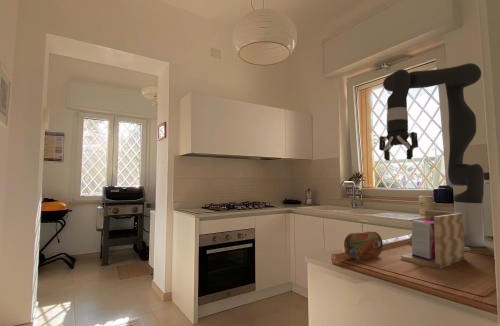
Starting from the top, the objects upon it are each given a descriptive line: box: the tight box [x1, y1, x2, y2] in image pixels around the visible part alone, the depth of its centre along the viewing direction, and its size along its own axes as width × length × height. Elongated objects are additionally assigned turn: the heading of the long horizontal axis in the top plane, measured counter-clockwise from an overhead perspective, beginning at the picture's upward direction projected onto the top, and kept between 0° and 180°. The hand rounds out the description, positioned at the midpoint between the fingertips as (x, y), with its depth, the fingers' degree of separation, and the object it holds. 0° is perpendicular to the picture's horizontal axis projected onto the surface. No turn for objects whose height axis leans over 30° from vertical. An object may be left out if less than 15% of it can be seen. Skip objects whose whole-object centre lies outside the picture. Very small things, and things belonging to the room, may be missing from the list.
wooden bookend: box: [400, 209, 466, 270], centre depth 88 cm, size 19×11×15 cm, turn 124°
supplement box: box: [411, 219, 435, 260], centre depth 86 cm, size 6×6×12 cm
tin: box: [343, 231, 384, 261], centre depth 89 cm, size 15×3×8 cm, turn 114°
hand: (397, 159), depth 108 cm, fingers open, 8 cm apart
